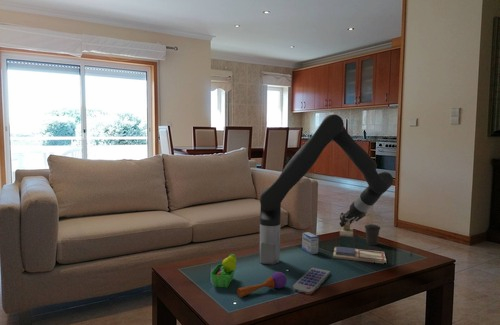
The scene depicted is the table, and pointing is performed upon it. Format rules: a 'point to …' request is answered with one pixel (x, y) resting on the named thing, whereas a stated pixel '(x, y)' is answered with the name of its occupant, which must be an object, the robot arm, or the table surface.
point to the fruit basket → (224, 272)
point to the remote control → (311, 280)
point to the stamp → (346, 230)
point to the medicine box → (310, 243)
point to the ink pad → (345, 251)
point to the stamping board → (364, 256)
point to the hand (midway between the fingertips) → (343, 224)
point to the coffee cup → (372, 234)
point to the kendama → (265, 284)
